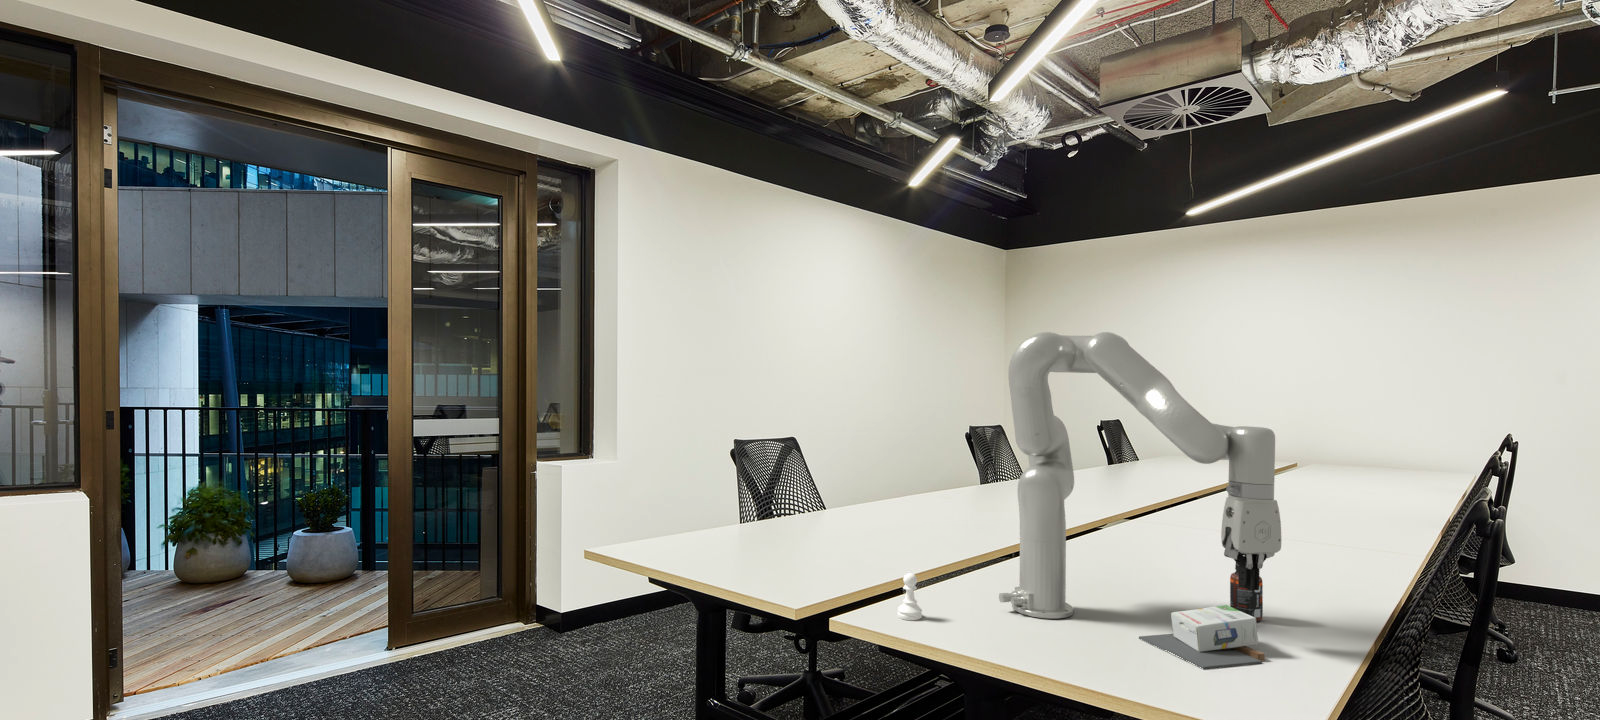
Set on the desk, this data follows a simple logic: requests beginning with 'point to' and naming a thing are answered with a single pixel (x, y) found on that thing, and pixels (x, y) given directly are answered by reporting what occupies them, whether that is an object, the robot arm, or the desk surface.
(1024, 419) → the robot arm
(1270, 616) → the desk surface
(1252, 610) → the supplement bottle
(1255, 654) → the stop strip
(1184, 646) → the mat
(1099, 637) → the desk surface
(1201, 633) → the ink box
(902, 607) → the chess pawn
